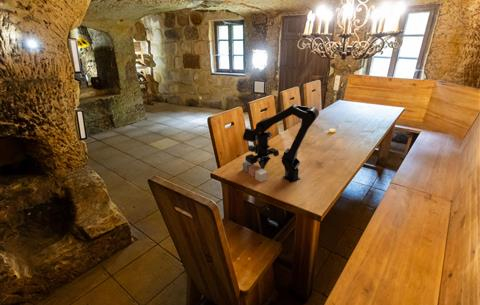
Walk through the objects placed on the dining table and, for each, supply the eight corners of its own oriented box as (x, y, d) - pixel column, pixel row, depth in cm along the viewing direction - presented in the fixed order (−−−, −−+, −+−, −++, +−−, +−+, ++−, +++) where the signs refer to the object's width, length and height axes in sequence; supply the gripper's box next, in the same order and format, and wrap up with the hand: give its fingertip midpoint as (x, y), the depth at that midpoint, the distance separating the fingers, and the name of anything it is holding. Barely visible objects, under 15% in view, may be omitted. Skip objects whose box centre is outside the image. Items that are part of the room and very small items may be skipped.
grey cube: (253, 170, 144) (253, 163, 143) (247, 172, 142) (247, 165, 140) (249, 167, 148) (249, 160, 146) (242, 169, 146) (242, 162, 144)
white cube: (267, 179, 135) (267, 172, 133) (260, 182, 133) (260, 174, 131) (262, 176, 139) (262, 168, 137) (255, 178, 136) (255, 171, 135)
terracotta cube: (260, 174, 140) (260, 167, 138) (253, 177, 138) (253, 169, 136) (255, 171, 143) (255, 164, 141) (248, 173, 141) (248, 166, 139)
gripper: (267, 135, 147) (266, 159, 153) (239, 142, 138) (240, 168, 144) (280, 141, 138) (278, 167, 145) (251, 149, 129) (251, 176, 136)
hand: (262, 169), depth 142 cm, fingers closed
